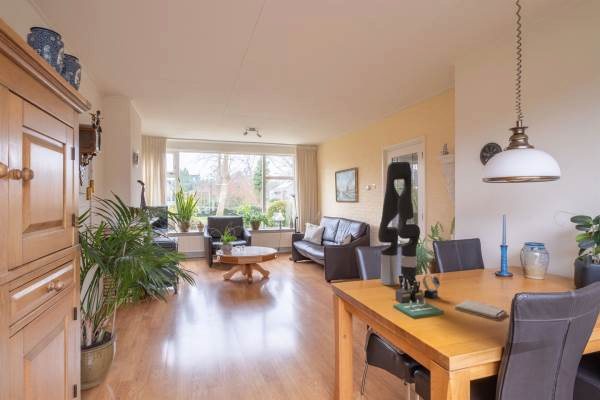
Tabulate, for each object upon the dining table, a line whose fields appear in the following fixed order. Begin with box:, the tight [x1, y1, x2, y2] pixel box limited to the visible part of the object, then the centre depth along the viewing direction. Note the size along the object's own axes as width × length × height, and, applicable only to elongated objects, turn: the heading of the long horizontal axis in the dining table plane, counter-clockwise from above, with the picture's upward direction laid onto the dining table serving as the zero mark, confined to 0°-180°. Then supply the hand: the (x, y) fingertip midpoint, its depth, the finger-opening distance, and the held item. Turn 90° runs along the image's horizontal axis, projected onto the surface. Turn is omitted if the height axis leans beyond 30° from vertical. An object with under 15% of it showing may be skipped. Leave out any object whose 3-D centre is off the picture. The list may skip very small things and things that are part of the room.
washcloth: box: [454, 299, 508, 321], centre depth 141 cm, size 12×18×3 cm, turn 40°
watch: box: [422, 274, 441, 300], centre depth 162 cm, size 6×8×11 cm
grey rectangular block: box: [395, 288, 424, 304], centre depth 157 cm, size 12×5×5 cm, turn 108°
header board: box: [392, 298, 445, 319], centre depth 143 cm, size 14×16×5 cm
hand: (409, 299), depth 157 cm, fingers closed on grey rectangular block, 5 cm apart
